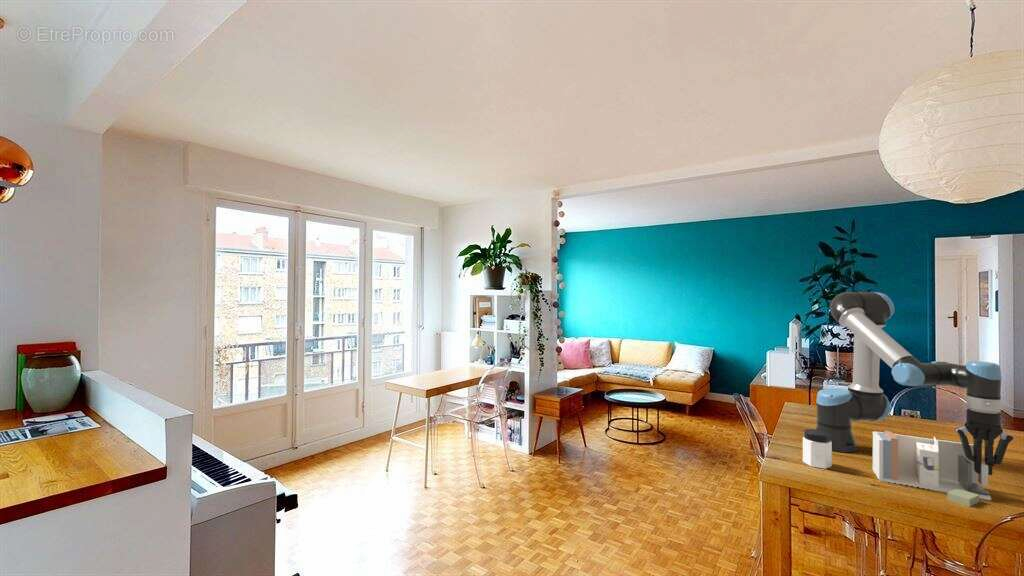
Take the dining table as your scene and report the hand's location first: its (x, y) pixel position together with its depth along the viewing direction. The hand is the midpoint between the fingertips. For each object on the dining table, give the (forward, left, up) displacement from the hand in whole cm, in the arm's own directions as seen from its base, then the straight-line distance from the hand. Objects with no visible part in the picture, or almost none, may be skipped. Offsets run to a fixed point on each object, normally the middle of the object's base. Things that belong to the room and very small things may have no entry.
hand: (983, 483), depth 140 cm
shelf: (-13, +1, -3) cm, 14 cm away
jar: (-44, +2, -4) cm, 44 cm away
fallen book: (-7, -9, -4) cm, 12 cm away
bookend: (-2, 0, -2) cm, 3 cm away
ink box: (-13, 0, -3) cm, 14 cm away
